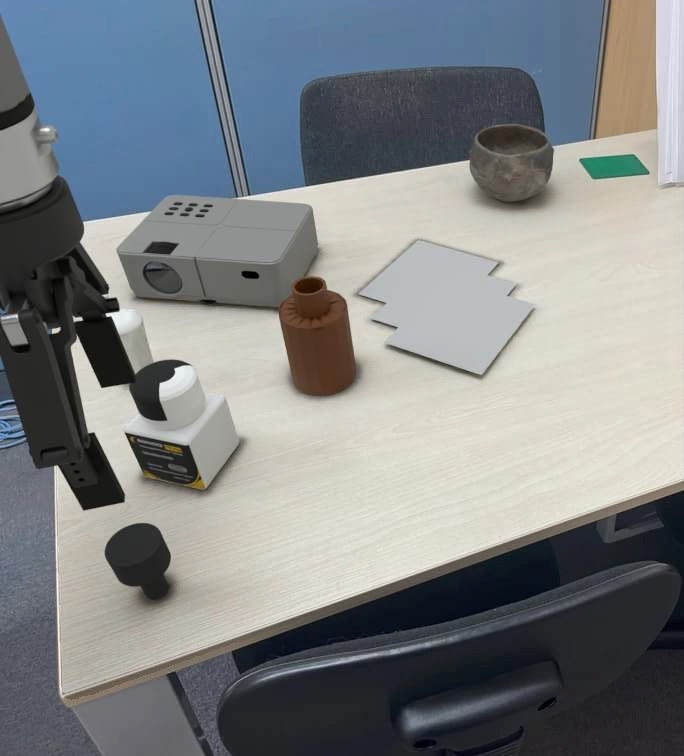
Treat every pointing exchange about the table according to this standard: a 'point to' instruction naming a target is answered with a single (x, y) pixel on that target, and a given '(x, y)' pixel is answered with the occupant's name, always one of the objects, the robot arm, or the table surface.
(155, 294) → the projector
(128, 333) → the milkshake
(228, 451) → the medicine bottle
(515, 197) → the bowl
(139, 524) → the stopper
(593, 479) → the table surface
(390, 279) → the paper stack
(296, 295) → the bottle
